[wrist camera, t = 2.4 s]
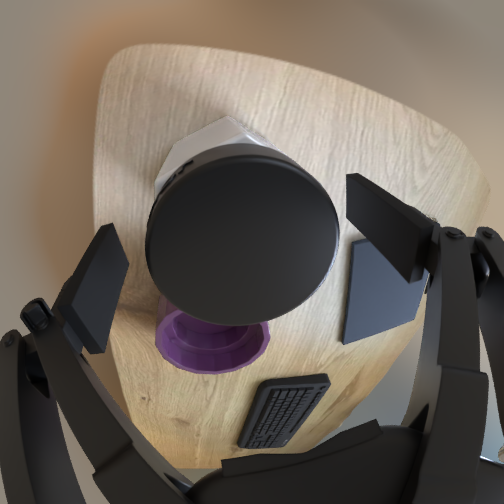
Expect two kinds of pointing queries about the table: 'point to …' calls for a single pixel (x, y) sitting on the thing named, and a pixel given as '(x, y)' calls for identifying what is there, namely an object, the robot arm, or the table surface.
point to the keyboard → (281, 410)
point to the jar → (238, 228)
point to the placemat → (377, 294)
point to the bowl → (206, 342)
